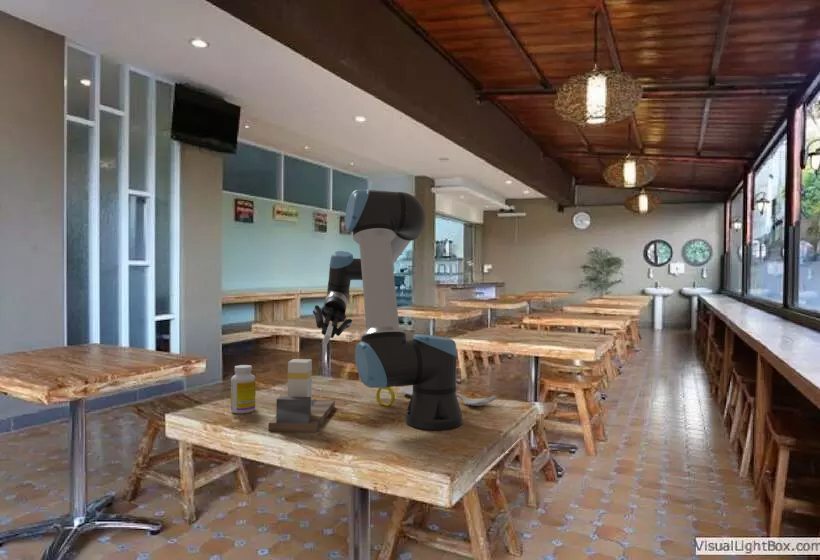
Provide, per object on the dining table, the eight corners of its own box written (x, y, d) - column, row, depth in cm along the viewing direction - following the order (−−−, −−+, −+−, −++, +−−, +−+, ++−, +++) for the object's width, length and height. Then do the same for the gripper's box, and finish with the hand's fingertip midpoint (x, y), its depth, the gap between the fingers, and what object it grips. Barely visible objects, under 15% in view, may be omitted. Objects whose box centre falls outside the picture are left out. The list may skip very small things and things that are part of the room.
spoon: (483, 413, 150) (484, 401, 150) (395, 396, 168) (395, 386, 168) (497, 406, 157) (497, 395, 157) (411, 391, 176) (411, 381, 176)
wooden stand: (294, 406, 154) (294, 379, 154) (334, 407, 154) (334, 380, 154) (268, 430, 130) (268, 399, 130) (315, 432, 130) (316, 400, 130)
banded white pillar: (292, 410, 140) (293, 358, 140) (311, 411, 140) (312, 359, 139) (287, 416, 135) (287, 362, 134) (306, 416, 134) (307, 362, 134)
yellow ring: (395, 406, 156) (397, 387, 156) (390, 408, 154) (391, 388, 154) (379, 402, 160) (380, 383, 159) (374, 404, 157) (375, 384, 157)
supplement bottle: (260, 410, 149) (260, 365, 149) (241, 415, 144) (241, 369, 143) (244, 407, 153) (244, 363, 152) (225, 412, 147) (225, 366, 147)
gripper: (348, 323, 175) (342, 358, 153) (312, 308, 173) (300, 341, 151) (357, 304, 173) (352, 337, 151) (320, 289, 171) (310, 320, 149)
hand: (326, 339), depth 151 cm, fingers closed
